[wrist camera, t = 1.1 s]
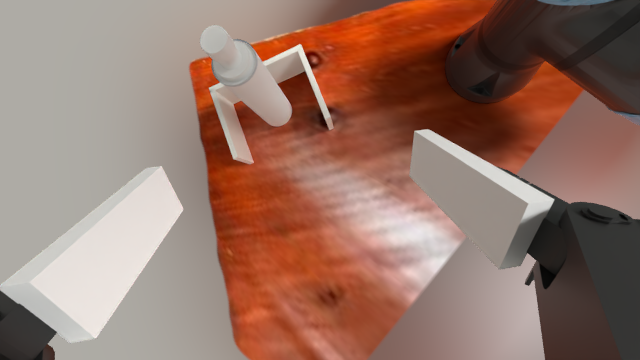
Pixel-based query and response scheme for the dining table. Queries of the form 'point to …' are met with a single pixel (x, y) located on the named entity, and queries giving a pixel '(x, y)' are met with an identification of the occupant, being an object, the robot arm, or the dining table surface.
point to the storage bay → (280, 70)
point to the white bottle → (245, 75)
